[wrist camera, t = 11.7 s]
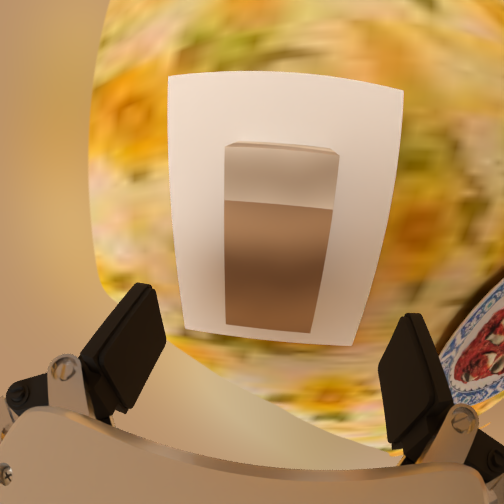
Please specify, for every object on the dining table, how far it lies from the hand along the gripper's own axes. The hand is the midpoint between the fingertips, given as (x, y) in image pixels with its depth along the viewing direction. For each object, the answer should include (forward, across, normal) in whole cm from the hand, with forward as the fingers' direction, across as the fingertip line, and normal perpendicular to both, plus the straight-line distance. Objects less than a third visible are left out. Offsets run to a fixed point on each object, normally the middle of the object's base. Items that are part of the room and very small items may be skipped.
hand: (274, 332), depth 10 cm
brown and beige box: (+11, +1, +1) cm, 11 cm away
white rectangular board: (+12, +1, +1) cm, 12 cm away
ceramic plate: (+12, -30, +12) cm, 35 cm away
